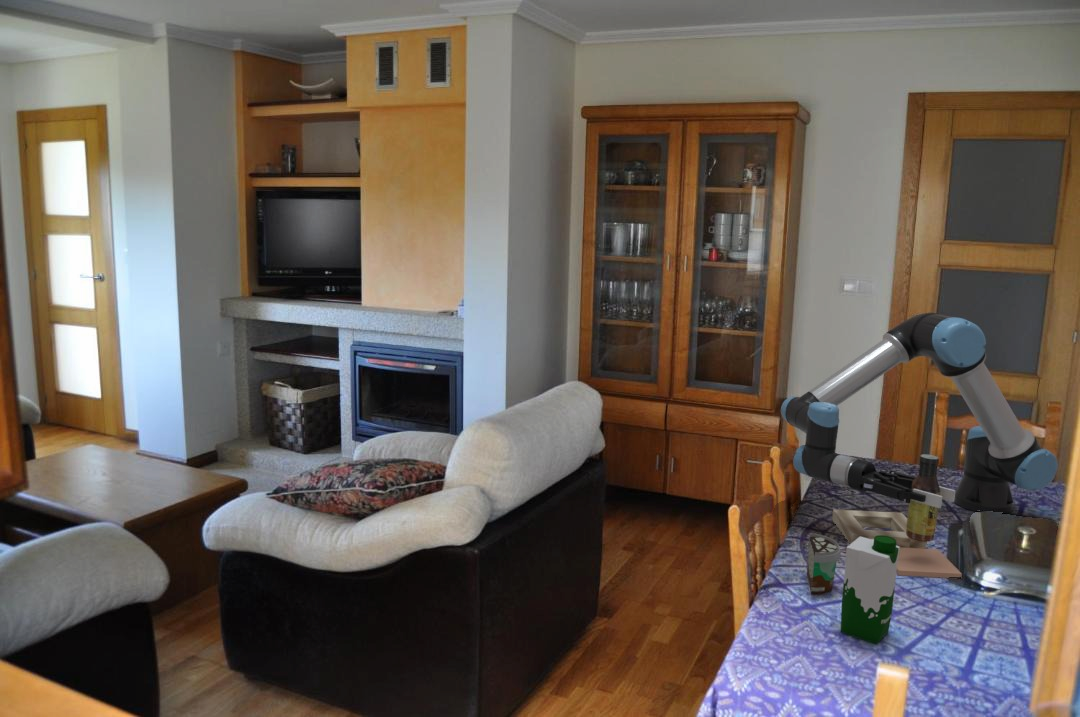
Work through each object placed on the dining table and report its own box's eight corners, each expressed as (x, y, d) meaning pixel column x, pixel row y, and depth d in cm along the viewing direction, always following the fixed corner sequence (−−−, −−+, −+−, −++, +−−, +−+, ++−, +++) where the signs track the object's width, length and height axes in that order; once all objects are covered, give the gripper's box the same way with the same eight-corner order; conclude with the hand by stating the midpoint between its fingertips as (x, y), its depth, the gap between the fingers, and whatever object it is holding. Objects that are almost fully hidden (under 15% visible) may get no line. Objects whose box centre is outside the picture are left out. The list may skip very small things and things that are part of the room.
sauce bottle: (930, 545, 196) (940, 463, 192) (902, 538, 200) (911, 457, 196) (937, 536, 201) (947, 456, 197) (909, 530, 205) (918, 450, 201)
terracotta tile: (937, 553, 208) (937, 549, 208) (961, 578, 194) (961, 573, 194) (878, 551, 209) (879, 546, 209) (898, 575, 195) (898, 570, 195)
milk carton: (880, 648, 163) (890, 549, 159) (833, 632, 168) (842, 536, 165) (894, 631, 169) (905, 536, 166) (849, 616, 175) (858, 524, 171)
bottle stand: (900, 523, 228) (901, 512, 227) (925, 550, 210) (927, 538, 210) (832, 520, 229) (833, 509, 228) (851, 546, 211) (852, 535, 211)
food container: (841, 600, 182) (845, 556, 180) (811, 597, 183) (815, 553, 181) (833, 576, 194) (837, 534, 192) (805, 573, 195) (809, 532, 193)
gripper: (871, 480, 218) (963, 506, 201) (832, 495, 206) (926, 524, 189) (874, 452, 217) (967, 475, 200) (835, 465, 205) (930, 491, 188)
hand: (947, 499), depth 195 cm, fingers closed on sauce bottle, 6 cm apart
